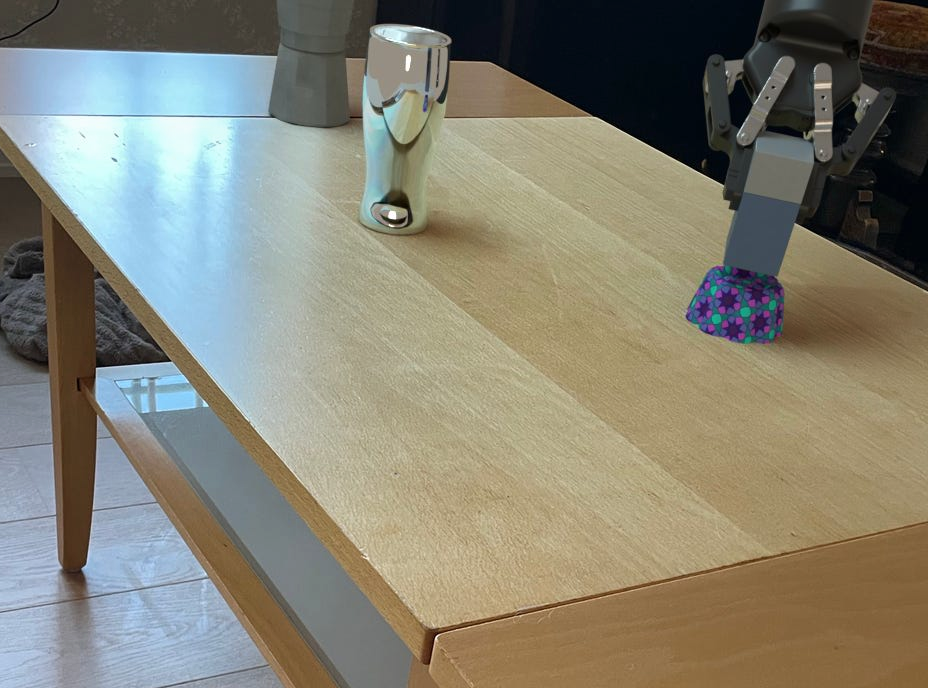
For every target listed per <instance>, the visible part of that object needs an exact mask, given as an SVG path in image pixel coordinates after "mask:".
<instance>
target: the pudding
mask: <svg viewBox="0 0 928 688" xmlns="http://www.w3.org/2000/svg"><path fill="white" fill-rule="evenodd" d="M785 298H786V294H785V289H784V286H783V285H782V284H781V282H779V280H778V278H777V277H776V276H771V275H767V274H762V273H757V272H753V271H748V270H744V269H739V268H735V267H730V266H725V265H716V266H713V267H712V268H710V269H709V270H708V271H707V272H706V274H705V275H704V277H703V278H702V280H701V282H700V285H699V286H698V288H697V290H696V292H695V294H694V295H693V297H692V299H691V301H690V303H689V304H688V306H687V308H686V310H687V312H686V314H685V319H686V321H687V322H689V323H691V324H692V325H695V326H698V330H699V331H701V332H703V333H704V334H706V335H709V336H712V337H718V338H724V339H726V340H728V341H729V342H733V343H737V344H745V345H746V344H750V343H758V344H762V345H764V344H771V343H773V342H775V338H777V337H781V336H782V334H783V331H784V330H783V329H784V327H783V326H784V316H785V315H784V314H785V313H784V311H785Z"/></svg>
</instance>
